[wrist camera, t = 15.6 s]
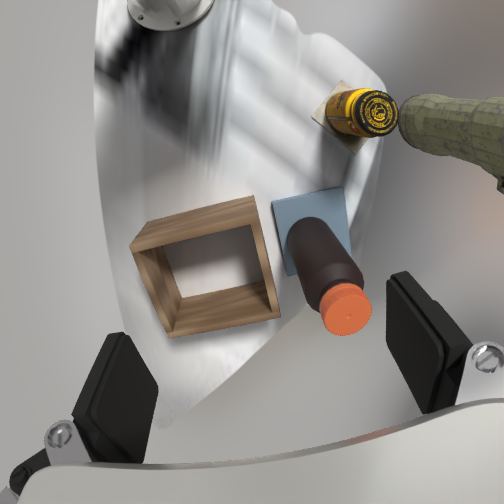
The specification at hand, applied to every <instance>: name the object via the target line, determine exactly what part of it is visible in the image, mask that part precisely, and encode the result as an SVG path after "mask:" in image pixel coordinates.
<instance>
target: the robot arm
mask: <svg viewBox="0 0 504 504" xmlns="http://www.w3.org/2000/svg"><path fill="white" fill-rule="evenodd" d="M213 2H214V0H127V5H128V9H129V12H130V14H131V16H132V17H133V19H134V20H136V21H137V22H138V23H139V24H140V25H142V26H144V27H146V28H148V29H151V30H155V31H173V30H177V29H181V28H184V27H186V26H189V25H191V24H192V23H194V22H196V21H197V20H199V19H200V18H201V17H202V16H204V15H205V13H206V12H207V11H208V10H209V9H210V7H211V5H212V4H213ZM142 18H143V20H141V19H142ZM178 23H180V25H177V24H178ZM386 297H387V298H386V299H387V300H386V303H387V304H386V342H387V346H388V348H389V350H390V352H391V354H392V356H393V358H394V359H395V361H396V363H397V365H398V367H399V369H400V371H401V373H402V374H403V376H404V379H405V381H406V382H407V384H408V386H409V388H410V390H411V392H412V394H413V396H414V398H415V400H416V402H417V404H418V406H419V408H420V410H421V412H422V414H427V415H424V416H421V417H419V418H416V419H413V420H410V421H407V422H404V423H401V424H398V425H395V426H392V427H389V428H385V429H382V430H379V431H375V432H372V433H369V434H366V435H362V436H358V437H355V438H351V439H347V440H343V441H339V442H335V443H331V444H327V445H322V446H318V447H313V448H308V449H303V450H298V451H293V452H287V453H281V454H275V455H269V456H263V457H255V458H247V459H239V460H229V461H218V462H203V463H183V464H142V463H143V461H144V457H145V452H146V447H147V442H148V438H149V433H150V428H151V423H152V419H153V414H154V410H155V405H156V401H157V396H158V385H157V383H156V381H155V379H154V378H153V376H152V374H151V373H150V371H149V369H148V368H147V366H146V364H145V363H144V361H143V359H142V357H141V356H140V354H139V352H138V350H137V348H136V347H135V345H134V343H133V341H132V339H131V338H130V336H129V335H126V334H125V333H124V332H118V333H111V334H108V335H107V337H106V339H105V341H104V343H103V345H102V348H101V350H100V352H99V354H98V356H97V358H96V360H95V362H94V365H93V367H92V369H91V371H90V373H89V375H88V378H87V380H86V382H85V384H84V386H83V389H82V391H81V393H80V395H79V398H78V400H77V402H76V405H75V407H74V409H73V412H72V414H71V415H72V416H73V417H74V420H73V422H71V421H69V420H60V421H58V422H56V423H54V424H53V425H52V426H51V427H50V428H49V429H48V430H47V432H46V434H45V437H44V444H45V448H44V449H43V450H41V451H40V452H38V453H37V454H35V455H34V456H32V457H31V458H29V459H27V460H26V461H24V462H23V463H22V464H20V465H18V466H17V467H16V468H15V469H14V470H13V472H12V473H11V476H10V481H9V483H10V488H9V487H7V486H6V487H5V488H4V489H3V490H2V492H1V493H0V504H504V348H503V347H502V346H500V345H498V344H496V343H493V342H481V343H478V344H476V345H473V344H472V343H471V342H470V340H469V339H468V338H467V337H466V335H465V334H464V333H463V332H462V330H461V329H460V328H459V327H458V325H457V324H456V323H455V322H454V320H453V319H452V318H451V317H450V316H449V314H448V313H447V312H446V311H445V310H444V309H443V307H442V306H441V305H440V304H439V303H438V302H437V301H435V300H432V299H431V297H430V296H429V295H428V294H427V293H426V292H425V290H424V289H423V288H422V287H421V286H420V285H419V284H418V283H417V281H416V280H415V279H414V278H413V277H412V276H411V275H410V274H409V272H407V271H404V272H400V273H396V274H393V275H391V278H390V280H387V282H386Z"/></svg>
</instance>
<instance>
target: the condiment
mask: <svg viewBox="0 0 504 504" xmlns="http://www.w3.org/2000/svg"><path fill="white" fill-rule="evenodd" d="M312 117H313V118H314V119H315V120H316V121H317V122H319V123H320V124H321V125H322V126H324V127H325V128H326V129H327V130H328V131H330V132H331V133H332V134H333V135H334V136H335V137H337V138H338V139H339V140H340V141H341V142H342V143H344V144H345V145H346V146H347V147H348V148H349V149H351V150H352V151H353V152H354V153H355V154H357V153H358V151H359V150H360V148H361V147H362V146H363V145H364V143H365V142H366V141H367V139H368V138H373V137H377V136H378V137H381V136H385V135H387V134H389V133H391V132H392V131H393V130H394V128H395V127H396V125H397V123H398V120H399V111H398V108H397V106H396V103H395V101H394V100H393V99H392V98H391V97H390V96H389V95H388V94H387V93H384V92H382V91H378V90H373V89H368V88H362V89H357V90H353V89H352V88H351V87H350V86H349V85H348V84H347V83H345V82H344V81H343V80H341V81H340V83H339V84H338V85H337V86H336V87H335V89H334V90H333V91H332V92H331V93H330V95H329V96H328V97H327V98H326V99H325V101H324V102H323V103H322V104H321V106H320V107H319V108H318V109H317V111H316V112H315V113H314V114H313V116H312Z"/></svg>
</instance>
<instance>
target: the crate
mask: <svg viewBox="0 0 504 504" xmlns="http://www.w3.org/2000/svg"><path fill="white" fill-rule="evenodd" d="M250 224H251V228H252V232H253V236H254V240H255V244H256V248H257V252H258V257H259V261H260V265H261V269H262V273H263V277H264V281H262V282H258V283H253V284H248V285H244V286H239V287H234V288H230V289H225V290H220V291H216V292H211V293H206V294H201V295H196V296H191V297H186V298H182V297H181V295H180V292H179V290H178V287H177V285H176V282H175V279H174V277H173V274H172V272H171V269H170V266H169V264H168V261H167V258H166V255H165V253H164V250H163V247H162V245H166V244H170V243H174V242H178V241H182V240H186V239H190V238H194V237H199V236H203V235H207V234H211V233H215V232H220V231H224V230H228V229H232V228H237V227H241V226H245V225H250ZM129 247H130V250H131V252H132V255H133V257H134V260H135V262H136V265H137V267H138V270H139V272H140V274H141V277H142V279H143V282H144V284H145V286H146V289H147V291H148V293H149V296H150V298H151V300H152V302H153V305H154V307H155V309H156V311H157V314H158V316H159V318H160V320H161V322H162V324H163V327H164V329H165V331H166V333H167V335H168V337H169V338H174V337H180V336H186V335H192V334H198V333H203V332H209V331H214V330H220V329H225V328H230V327H235V326H241V325H246V324H251V323H255V322H260V321H265V320H270V319H274V318H279V317H281V315H280V310H279V304H278V299H277V294H276V289H275V284H274V279H273V275H272V271H271V266H270V262H269V258H268V253H267V249H266V245H265V240H264V236H263V232H262V228H261V223H260V219H259V215H258V211H257V207H256V202H255V198H254V195H252V196H248V197H244V198H240V199H235V200H231V201H227V202H223V203H219V204H215V205H211V206H207V207H203V208H199V209H195V210H191V211H187V212H183V213H179V214H176V215H172V216H168V217H164V218H161V219H157V220H153V221H150V222H147V223H146V224H145V226H144V227H143V228H142V230H141V231H140V232H139V234H138V235H137V236H136V237H135V239H134V240H133V241H132V243H131V244H130V245H129Z"/></svg>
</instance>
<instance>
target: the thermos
mask: <svg viewBox="0 0 504 504" xmlns="http://www.w3.org/2000/svg"><path fill="white" fill-rule="evenodd" d="M398 127H399V131H400V133H401V135H402V137H403V139H404V140H405V141H406V142H407V143H408V144H409V145H411V146H412V147H414V148H417V149H420V150H422V151H423V152H427V153H430V154H433V155H438V156H452V157H456V158H459V159H462V160H465V161H468V162H471V163H473V164H476V165H479V166H481V167H482V168H483V169H484V170H485V171H487V172H488V173H489V174H492V175H493V176H494V177H495V178H497V179H498V183H497V190H498V191H500V192H501V193H502V194H504V98H501V97H490V98H487V99H485V100H475V99H458V98H449V97H446V96H443V95H439V94H425V95H416V96H411V97H410V98H408V99H406V100H405V101H404V102H403V104H402V105H401V107H400V110H399V120H398Z"/></svg>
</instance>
